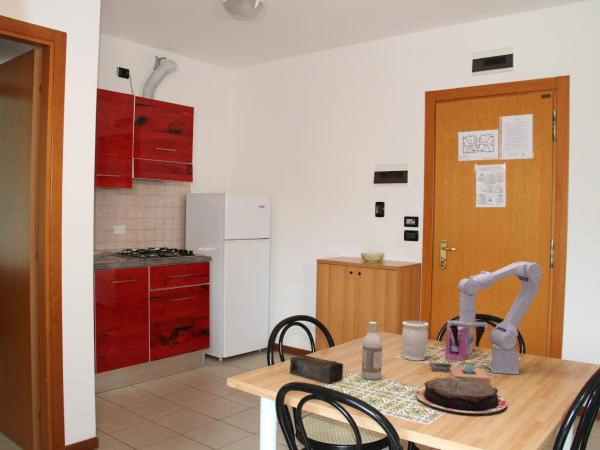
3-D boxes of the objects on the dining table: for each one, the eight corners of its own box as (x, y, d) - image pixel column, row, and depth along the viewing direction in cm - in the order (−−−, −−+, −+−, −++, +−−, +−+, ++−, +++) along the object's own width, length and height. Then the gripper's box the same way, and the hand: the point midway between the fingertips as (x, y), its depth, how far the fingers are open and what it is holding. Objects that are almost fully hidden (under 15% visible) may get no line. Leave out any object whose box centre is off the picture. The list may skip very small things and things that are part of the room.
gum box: (463, 362, 214) (464, 329, 214) (443, 359, 217) (444, 326, 217) (473, 350, 235) (474, 320, 235) (455, 347, 238) (456, 318, 238)
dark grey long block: (303, 369, 198) (303, 352, 198) (344, 380, 185) (344, 362, 185) (289, 373, 192) (289, 356, 192) (330, 385, 179) (331, 366, 179)
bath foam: (370, 381, 184) (371, 324, 184) (357, 376, 190) (359, 321, 190) (385, 378, 188) (386, 323, 188) (372, 373, 194) (373, 320, 194)
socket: (482, 376, 194) (482, 368, 194) (489, 386, 182) (490, 378, 182) (449, 374, 195) (449, 366, 195) (454, 384, 183) (454, 376, 183)
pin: (471, 378, 190) (471, 359, 190) (474, 381, 187) (474, 361, 187) (463, 378, 190) (463, 359, 190) (465, 381, 187) (466, 361, 187)
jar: (425, 355, 222) (426, 320, 222) (429, 362, 212) (430, 325, 212) (400, 354, 223) (401, 319, 223) (402, 361, 213) (403, 324, 213)
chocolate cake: (437, 382, 186) (438, 364, 186) (518, 400, 169) (519, 380, 169) (399, 402, 165) (400, 381, 165) (488, 425, 147) (488, 402, 147)
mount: (450, 366, 206) (450, 363, 206) (453, 372, 198) (453, 369, 198) (429, 365, 207) (429, 362, 207) (431, 371, 199) (432, 368, 199)
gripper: (449, 311, 196) (448, 347, 196) (489, 313, 194) (488, 349, 194) (446, 308, 203) (446, 343, 203) (485, 310, 201) (484, 345, 201)
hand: (466, 345), depth 199 cm, fingers open, 7 cm apart
